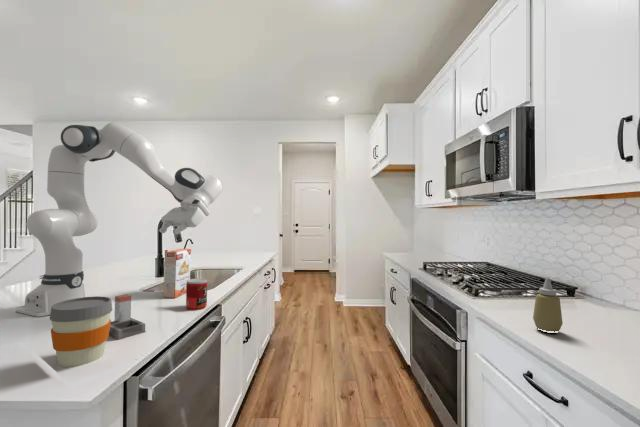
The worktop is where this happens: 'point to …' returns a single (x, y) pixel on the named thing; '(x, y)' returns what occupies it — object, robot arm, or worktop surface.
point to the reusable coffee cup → (80, 329)
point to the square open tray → (126, 329)
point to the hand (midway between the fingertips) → (167, 232)
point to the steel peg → (122, 308)
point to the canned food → (196, 294)
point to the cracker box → (176, 272)
